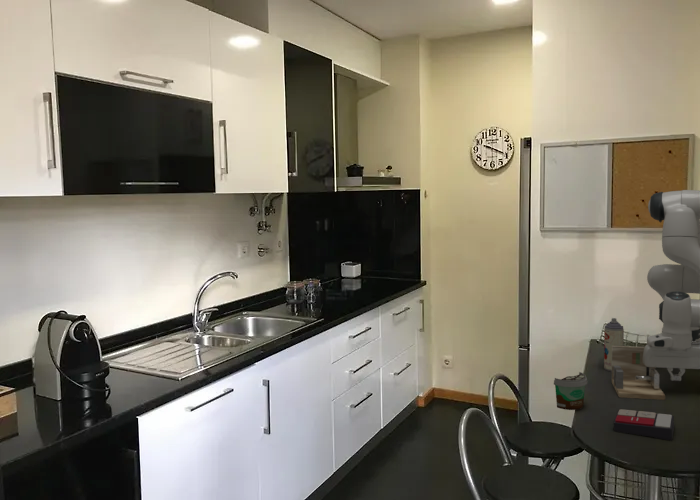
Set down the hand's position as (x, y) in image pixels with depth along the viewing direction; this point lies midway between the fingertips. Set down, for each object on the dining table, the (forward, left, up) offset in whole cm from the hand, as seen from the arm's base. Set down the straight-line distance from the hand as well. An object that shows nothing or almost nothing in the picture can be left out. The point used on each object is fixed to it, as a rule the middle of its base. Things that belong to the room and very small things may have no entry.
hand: (675, 380), depth 201 cm
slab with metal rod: (-1, -9, -2) cm, 9 cm away
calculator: (+34, -16, -5) cm, 38 cm away
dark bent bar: (-5, -7, -2) cm, 9 cm away
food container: (+20, -34, -5) cm, 40 cm away
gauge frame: (0, -12, -4) cm, 13 cm away
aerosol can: (-24, -16, -5) cm, 29 cm away
